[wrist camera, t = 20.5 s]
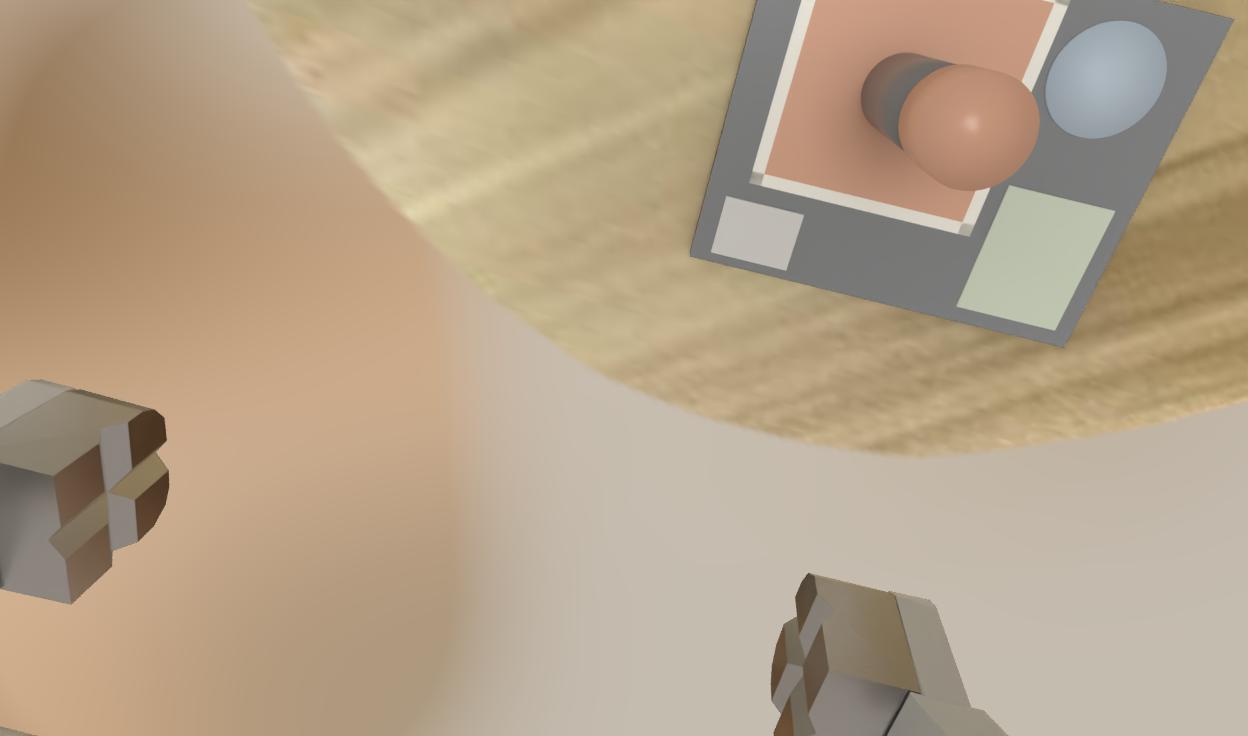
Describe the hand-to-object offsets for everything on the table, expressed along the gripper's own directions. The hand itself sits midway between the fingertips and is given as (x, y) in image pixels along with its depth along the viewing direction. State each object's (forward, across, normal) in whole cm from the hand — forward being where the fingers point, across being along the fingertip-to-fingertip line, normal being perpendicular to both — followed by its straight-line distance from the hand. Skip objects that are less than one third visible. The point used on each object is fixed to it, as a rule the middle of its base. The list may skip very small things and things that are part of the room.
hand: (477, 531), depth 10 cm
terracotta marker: (+32, -10, -4) cm, 34 cm away
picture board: (+33, -13, -2) cm, 35 cm away
